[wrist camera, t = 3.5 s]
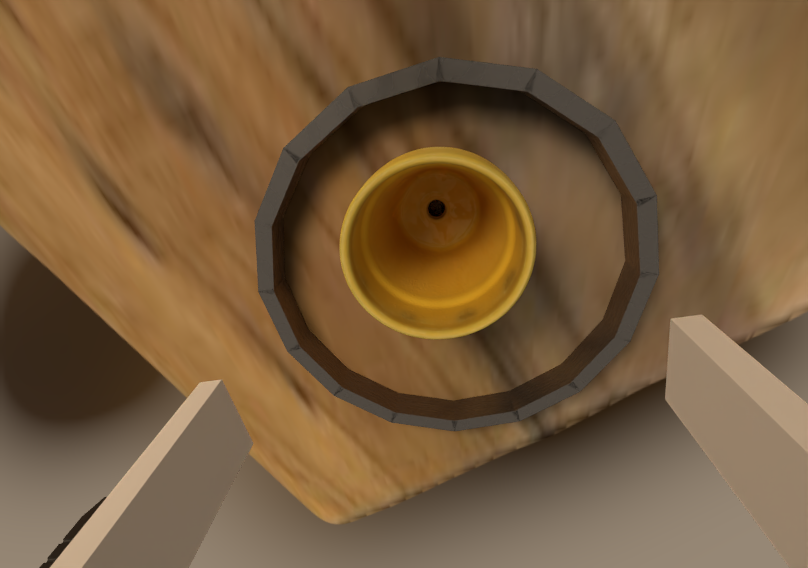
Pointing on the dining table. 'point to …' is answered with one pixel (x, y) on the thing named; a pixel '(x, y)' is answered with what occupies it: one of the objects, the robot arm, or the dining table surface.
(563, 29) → the dining table surface
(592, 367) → the centring collar
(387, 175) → the plant pot
